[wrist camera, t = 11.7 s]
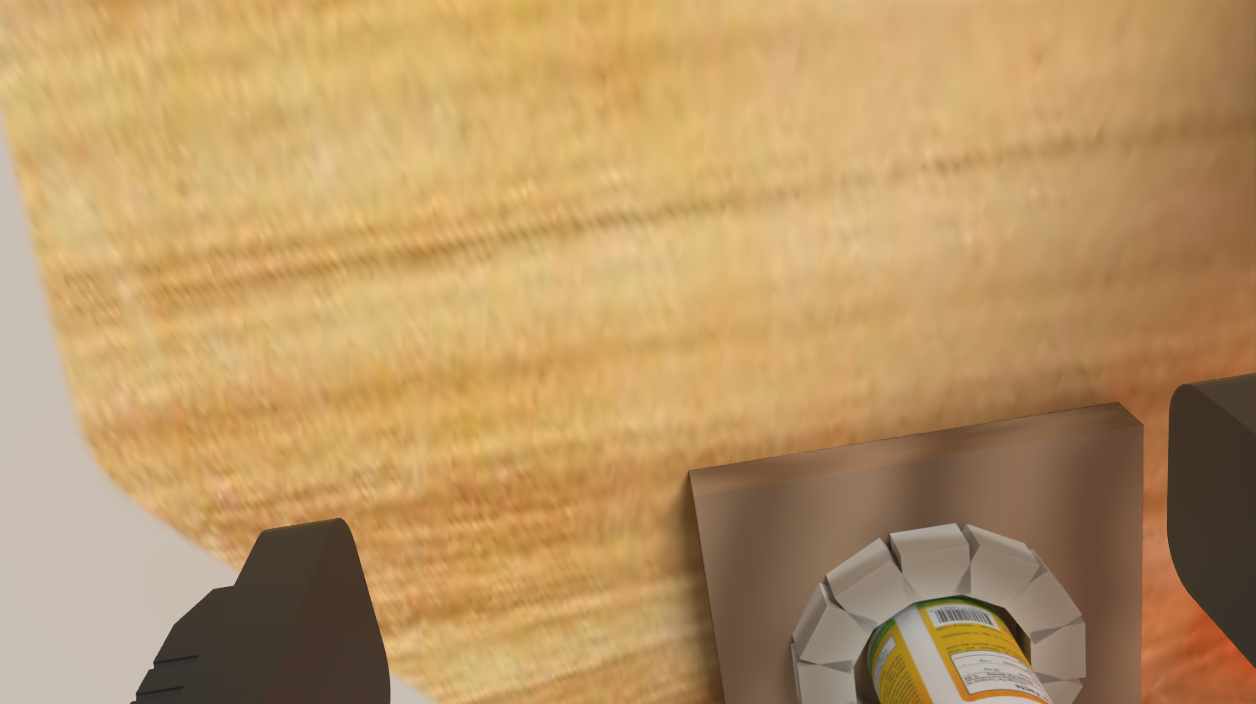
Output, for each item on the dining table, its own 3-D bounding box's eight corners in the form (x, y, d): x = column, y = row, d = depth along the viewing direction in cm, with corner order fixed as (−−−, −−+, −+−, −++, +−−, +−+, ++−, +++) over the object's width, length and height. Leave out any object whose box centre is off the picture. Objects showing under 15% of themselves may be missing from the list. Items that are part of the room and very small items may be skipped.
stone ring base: (1118, 402, 42) (1164, 443, 39) (1117, 746, 48) (1157, 808, 45) (688, 470, 42) (698, 517, 39) (740, 805, 48) (752, 870, 45)
